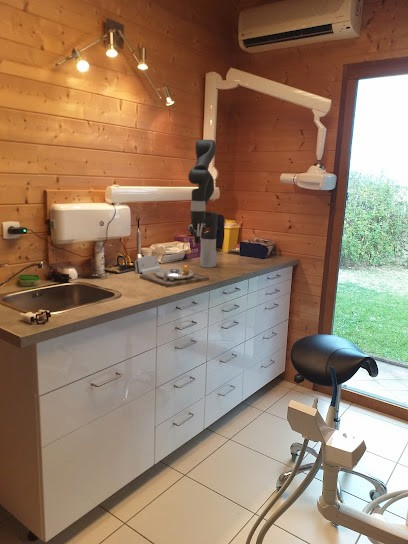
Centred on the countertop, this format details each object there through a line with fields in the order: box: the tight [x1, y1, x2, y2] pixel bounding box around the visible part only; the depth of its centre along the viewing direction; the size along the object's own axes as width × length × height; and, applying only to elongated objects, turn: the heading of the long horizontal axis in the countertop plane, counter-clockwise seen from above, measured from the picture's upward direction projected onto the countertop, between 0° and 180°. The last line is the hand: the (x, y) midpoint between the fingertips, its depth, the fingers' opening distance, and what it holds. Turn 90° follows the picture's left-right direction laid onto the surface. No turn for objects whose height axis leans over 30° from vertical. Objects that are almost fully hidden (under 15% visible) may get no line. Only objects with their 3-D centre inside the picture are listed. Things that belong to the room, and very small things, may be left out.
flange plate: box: [155, 264, 194, 280], centre depth 222 cm, size 20×22×6 cm
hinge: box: [134, 255, 163, 275], centre depth 240 cm, size 17×5×10 cm, turn 144°
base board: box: [139, 272, 210, 288], centre depth 224 cm, size 28×24×6 cm
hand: (197, 243), depth 220 cm, fingers closed
